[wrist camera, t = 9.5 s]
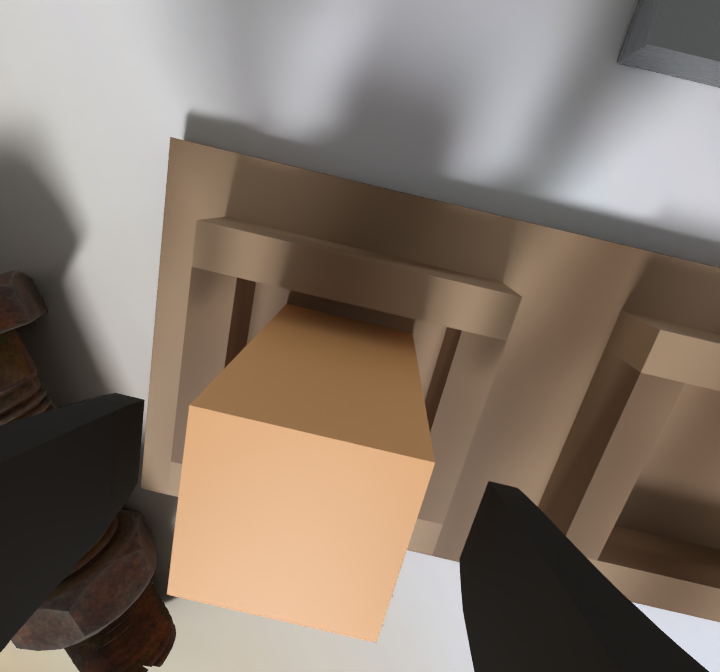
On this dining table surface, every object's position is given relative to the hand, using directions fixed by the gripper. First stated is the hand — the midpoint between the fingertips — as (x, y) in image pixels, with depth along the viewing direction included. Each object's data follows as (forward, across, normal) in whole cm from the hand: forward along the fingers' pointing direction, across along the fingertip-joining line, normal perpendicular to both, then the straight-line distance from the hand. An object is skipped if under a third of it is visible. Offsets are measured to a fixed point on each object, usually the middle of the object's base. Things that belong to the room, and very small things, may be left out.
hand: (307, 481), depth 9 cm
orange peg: (+6, 0, 0) cm, 6 cm away
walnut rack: (+6, -6, 0) cm, 9 cm away
